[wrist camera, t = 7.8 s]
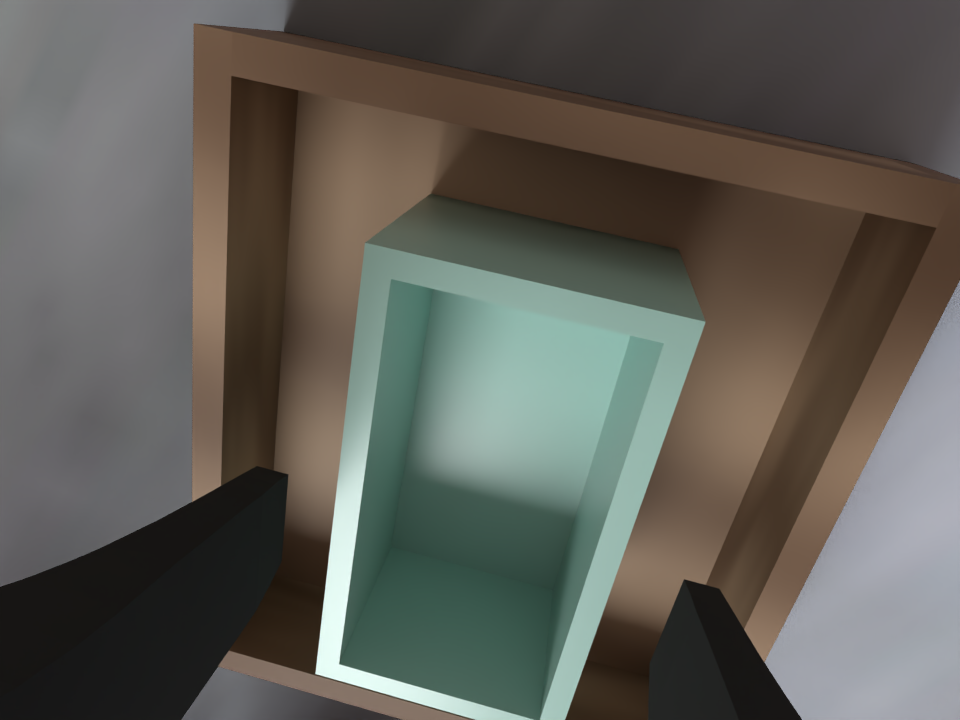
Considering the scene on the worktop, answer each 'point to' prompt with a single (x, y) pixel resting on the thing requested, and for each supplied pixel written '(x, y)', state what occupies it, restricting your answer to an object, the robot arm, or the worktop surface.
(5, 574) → the worktop surface
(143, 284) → the worktop surface
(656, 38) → the worktop surface
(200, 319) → the big crate
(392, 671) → the small crate
